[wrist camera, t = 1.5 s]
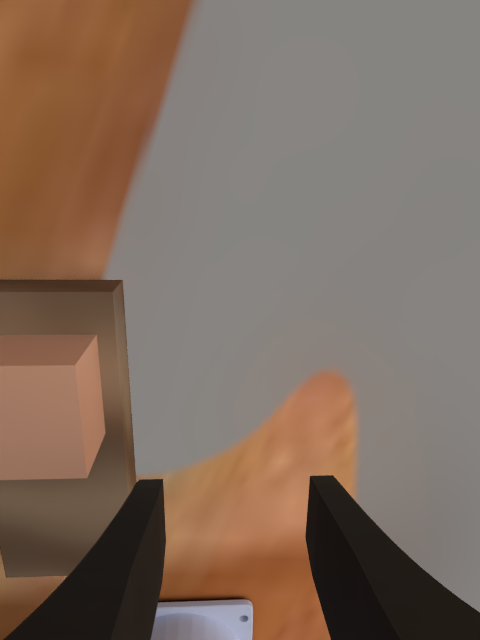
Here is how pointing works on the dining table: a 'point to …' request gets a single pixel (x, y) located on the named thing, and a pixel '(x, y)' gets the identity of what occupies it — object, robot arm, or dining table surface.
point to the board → (116, 448)
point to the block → (49, 406)
